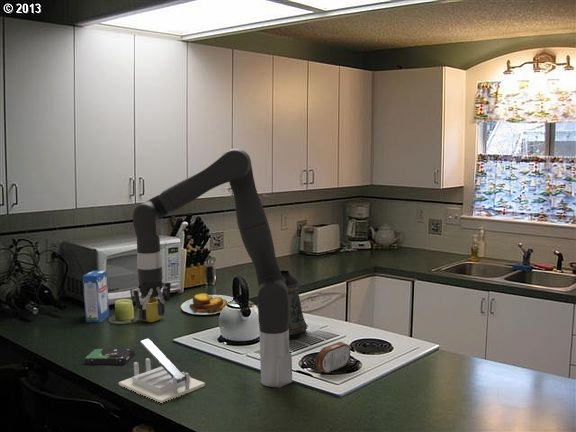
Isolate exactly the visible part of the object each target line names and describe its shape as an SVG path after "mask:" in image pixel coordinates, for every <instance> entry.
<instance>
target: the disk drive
mask: <svg viewBox="0 0 576 432" xmlns="http://www.w3.org/2000/svg"><path fill="white" fill-rule="evenodd" d="M135 354H136V353H135V348H109V347H107V348H106V347H99V348H98V347H95V348H94V349H92V350H91V351H90V352H89V354H87V356H85V357H84V365H120V366H121V365H122V366H123V365H127V363H128V362H129V361H130V360H131V359H132V358H133V357H134V356H135Z"/></svg>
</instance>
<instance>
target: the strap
mask: <svg viewBox="0 0 576 432" xmlns="http://www.w3.org/2000/svg"><path fill="white" fill-rule="evenodd" d="M139 344H140V345H141V346H142V347H143V348H144V350H146V351H147V353H149V355H151V357H152V358H153V359H154V360H155V361H156V362H157V363H158V364H159V366H160V367H161V366H162V367H163V368H164V370H165V371H166V372H167V373H168V374H169V375H170V376H171V377H172V378H174V377H175V378H177V383H180V382H182V381H185V380H186V377H185V376H184V375H183V374H182V372H181V371H180V370H179V369H178V368H177V367H176V366H175V365H174V364H173V362H171V360H170V359H169V358H167V356H166V355H165V354H164V353H163V352H162V351H161V350H160V349H159V347H157V346H156V345H155V344H154V343H153V341H152V340H151V339H149V338H145V339H143V340H140V342H139Z"/></svg>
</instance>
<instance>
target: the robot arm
mask: <svg viewBox="0 0 576 432" xmlns="http://www.w3.org/2000/svg"><path fill="white" fill-rule="evenodd" d="M227 183H229V185H230V188H231V191H232V194H233V198H234V206H235V207H234V208H235V216H236V222H237V228H238V231H239V233H240V237H241V241H242V243H243V245H244V248H245V250H246V253H247V254H248V257H250V259H251V262H252V264H253V267H254V271H255V275H256V279H257V285H258V293H257V312H258V326H259V327H258V328H259V358H260V359H259V361H260V362H259V363H260V383H261V384H262V385H263V386H266V387H271V388H278V389H279V388H283V387H284V386H287V385H288V384H291V383H293V359H292V358H293V354H292V352H290V340H289V321H288V289H287V286H286V283H285V281H284V279H283V276H282V274H281V272H280V271H281V270H280V267H279V264H278V261H277V257H276V251H275V247H274V246H275V245H274V240H273V236H272V231H271V228H270V225H269V221H268V219H267V218H268V217H267V215H266V212H265V209H264V206H263V203H262V201H261V199H260V196H259V193H258V190H257V188H256V183H255V178H254V172H253V167H252V160H251V157H250V155H249V153H247V152H246V151H245V150H243V149H241V148H237V147H236V148H231V149H228V150H227V151H225V152H223V154H222V155H221V156H220V157H219V158H218V159H216V160H215V161H214V162H212V163H211V164H210V165H209V166H207V167H206V168H204V169H203V170H201V171H199V172H198V173H195V174H193V175H192V176H189V177H188V178H185V179H183V180H181V181H179V182H177V183H175V184H174V185H172V186H170V187H169V188H166V189H165V190H163V191H162V192H161V193H160V194H158V195H156V196H153V197H152V198H150V199H147V200H145V201H144V202H142V203H139V204H138V205H136V207H134V209H133V213H132V223H133V229H134V232H135V236H136V250H137V254H136V255H137V257H136V264H137V265H136V266H137V281H138V287H137V288H135V289H132V288H131V289H130V291H129V292H130V298H131V303H132V307H133V308H135V309H136V310H138V309H139V312H138V315H139V317H138V318H139V319H140V321H143V322H147V321H146V320H147V318H146V309H145V308H146V305H147V303H148V302H149V299H150V298H153V297H155V298H156V300H157V302H158V303H159V304H157V307H158V315H159V316H162V317H163V316H164V315H165V308H164V304H165V305H166V302H169V301H170V299H171V282H168V281H163V279H164V278H163V264H162V263H163V262H162V261H163V260H162V253H161V240H160V235H159V233H158V232H157V223H156V222H157V221H159V220H161V219H162V218H163V217H165V216H167V215H168V214H170V213H173V212H175V211H178V210H180V209H181V208H183V207H184V206H186V205H188V204H190V203H191V202H193V201H195V200H196V199H198V198H199V197H201V196H203V195H204V194H206V193H207V192H209V191H211V190H213V189H215V188H217V187H219V186H221V185H224V184H227ZM144 298H145V299H144Z"/></svg>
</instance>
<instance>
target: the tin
mask: <svg viewBox="0 0 576 432" xmlns="http://www.w3.org/2000/svg"><path fill="white" fill-rule="evenodd" d="M350 359H351V347H350V345H349V344H347V343H344V342H343V341H338V342H335V343H332V344H330V345H327V346H324V347H322V348H321V349H320V350H319V352H318V353H317V355H316V360H315V367H316V369H317V371H319V372H321V371H322V373H325V374H329V372H330V373H331V371H332V372H334V370H335V371H336V370H340V369H342V368H344V367H346V366H347V365H348V363H349V361H350Z"/></svg>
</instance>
